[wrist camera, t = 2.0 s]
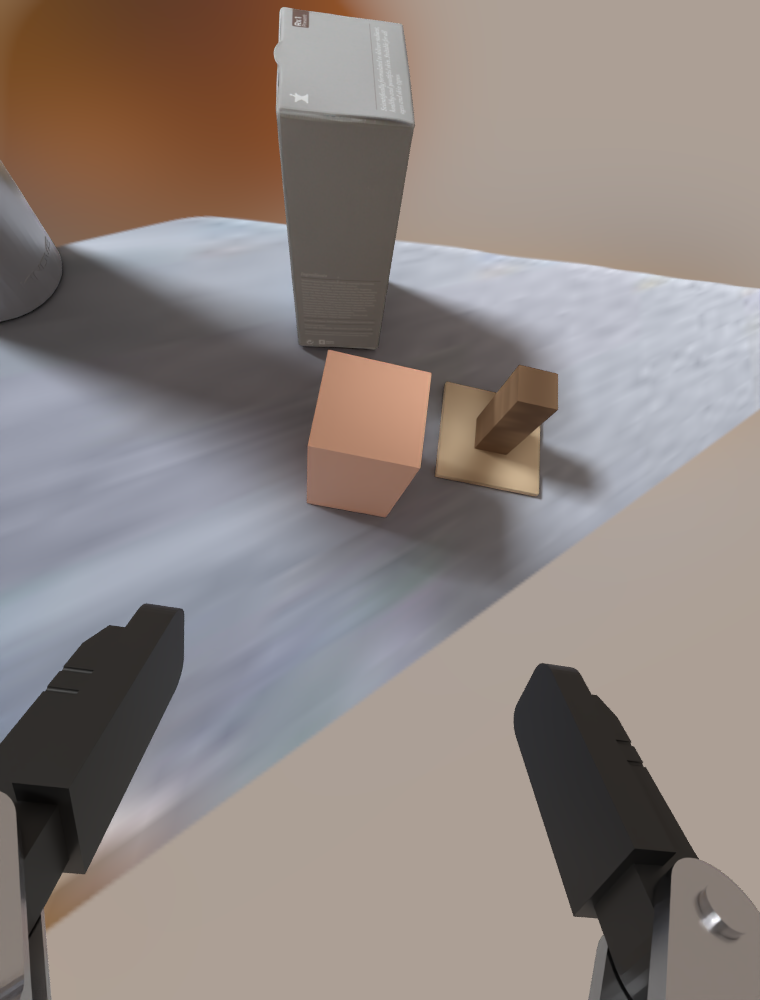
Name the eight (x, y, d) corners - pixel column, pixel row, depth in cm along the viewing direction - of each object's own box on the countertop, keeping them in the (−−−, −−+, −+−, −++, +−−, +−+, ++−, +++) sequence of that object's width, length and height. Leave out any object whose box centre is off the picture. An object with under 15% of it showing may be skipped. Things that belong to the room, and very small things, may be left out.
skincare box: (377, 353, 34) (435, 134, 19) (286, 348, 33) (271, 108, 18) (373, 269, 36) (419, 16, 21) (287, 261, 35) (275, -13, 20)
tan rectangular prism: (306, 503, 29) (307, 445, 20) (321, 431, 31) (328, 349, 22) (385, 517, 30) (420, 468, 21) (395, 446, 32) (431, 372, 23)
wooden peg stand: (434, 476, 31) (472, 431, 24) (444, 384, 34) (480, 320, 27) (535, 496, 32) (599, 458, 25) (537, 405, 35) (596, 348, 28)
